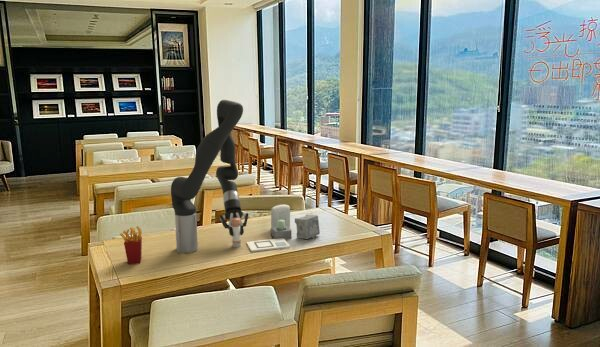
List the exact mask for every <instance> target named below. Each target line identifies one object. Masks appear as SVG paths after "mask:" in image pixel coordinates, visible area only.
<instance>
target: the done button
mask: <svg viewBox="0 0 600 347" xmlns="http://www.w3.org/2000/svg"><path fill="white" fill-rule="evenodd" d="M278 230H285V220H278Z"/></svg>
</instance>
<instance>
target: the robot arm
mask: <svg viewBox="0 0 600 347" xmlns="http://www.w3.org/2000/svg"><path fill="white" fill-rule="evenodd" d="M243 113H244V106H243V105H242V104H241V103H240V102H237V101H233V100H228V99H222V100H220V101H219V102H218V104H217V107H216V118H217V125H218V127H216V128H215V129H213V130H212V131H210V132H209V133H207V134H206V135H205V136H204V137H203V138H202V140H201V141H200V143H199V145H198V146H197V149H196V151H195V156H194V157H195V158H194V159H195V161H194V165H193V169H192V170H191V172H190V174H189V175H188V177H185V176H184V177H183V176H177V177H176V178H174V179H173V180H172V182H171V185H170V196H171V197H170V198H171V204H172V208H173V210H174V221H175V222H174V223H175V242H176V243H175V244H176V245H175V246H176V252H177V253H178V254H179V253H180V254H181V253H182V254H190V253H194V252H197V251H198V250H199V246H198V245H199V242H198V224H197V223H198V221H197V220H198V219H197V208H196V206H195V204H194V203H193V202H192V200H193V199H194V198H196V197H197V195H198V193H199V191H200V189H201V187H202V185H203V182H204V181H205V178H206V176H207V174H208V172H209V171H210V168H211V167H212V165H213V163H214V161H215V160H216V158H217V156H218V155H220V156H219V158H220V161H221V163H224V164H229V165H223V166H218V167H217V168H216V171H215V175H216V177H217V180H218V182H219V184H220V186H221V190H222V197H223V198H222V199H223V200H222V201H223V208H224V212H225V213H224V214H223V215H221V214H220V216H219V220H220V222H221V224H222V226H223V228H224V229H228V233H229V234H228V235H229V236H230V237H232V236H233V229H232V221H231V219H232V218H240V234H241V236H243V235H244V233H245V231H244V227H246V226H247V222H248V219H249V213H248V212H246V213H244V212H243V210H242V206H241V201H240V195H239V192H238V191H239V190H238V186H237V183H236V182H234V180H237V178H238V177H239V171H238V167H237V163H236V143H235V140H234V138H233V135H232V134H231V133H232V131H233V130H234V128H236V126H237V125H238V123H239V121H240V120H241V119H242V117H243ZM219 153H220V154H219ZM242 218H243V219H244V222H243V220H242ZM225 219H226V220H227V221H228V223H227V221H226V220H225Z"/></svg>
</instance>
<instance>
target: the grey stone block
mask: <svg viewBox="0 0 600 347" xmlns="http://www.w3.org/2000/svg"><path fill="white" fill-rule="evenodd" d="M294 223H295V225H296V238H298V239H306V240H308V239H314V238H315V237H316V236H318V235H320V231H321V230H320V222H319V216H318V215H315V214H306V215H305V216H301V217H295V218H294Z"/></svg>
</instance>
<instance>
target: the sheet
mask: <svg viewBox="0 0 600 347" xmlns="http://www.w3.org/2000/svg"><path fill="white" fill-rule="evenodd" d="M246 245H247V247H248V249H249V250H250V252H251V253H255V252H257V253H258V252H264V251H274V250H280V249H290V248H291V245H290V244H289V243H288V242H287V239H284V238H279V239H274V238H270V239H261V240H253V241H246Z"/></svg>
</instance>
